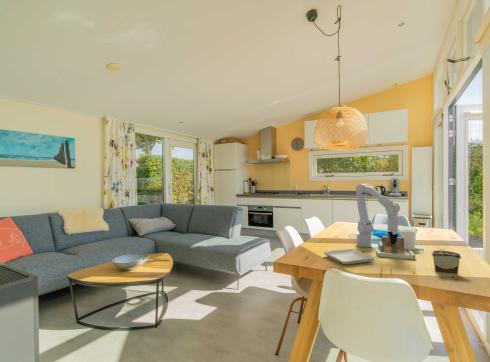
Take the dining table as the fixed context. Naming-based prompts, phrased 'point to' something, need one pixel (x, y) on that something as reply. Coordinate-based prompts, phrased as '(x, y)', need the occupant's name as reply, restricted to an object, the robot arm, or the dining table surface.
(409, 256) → the tray
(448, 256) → the food container
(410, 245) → the mug
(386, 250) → the tile
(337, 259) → the salad plate
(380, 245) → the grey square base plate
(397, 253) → the tile
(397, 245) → the long brown wooden post
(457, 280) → the dining table surface
